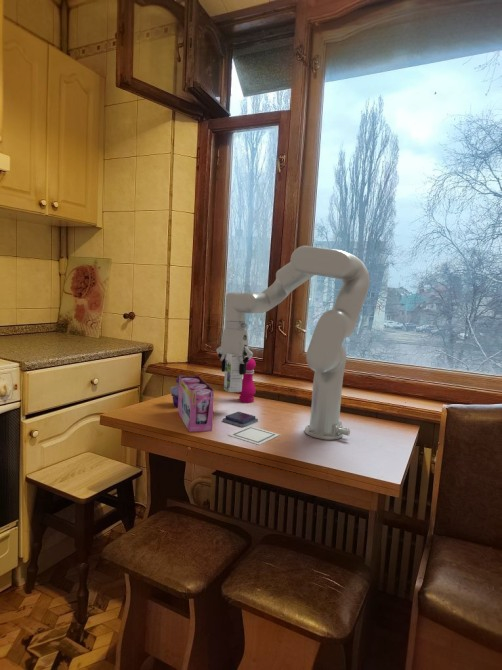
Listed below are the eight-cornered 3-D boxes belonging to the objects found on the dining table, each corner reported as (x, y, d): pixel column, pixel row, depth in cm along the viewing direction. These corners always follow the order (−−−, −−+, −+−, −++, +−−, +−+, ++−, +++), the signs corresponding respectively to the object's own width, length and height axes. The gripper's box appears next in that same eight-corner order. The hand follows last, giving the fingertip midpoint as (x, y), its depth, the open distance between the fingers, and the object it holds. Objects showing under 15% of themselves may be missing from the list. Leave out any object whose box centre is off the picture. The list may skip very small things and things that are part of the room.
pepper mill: (254, 403, 169) (257, 356, 166) (237, 402, 169) (240, 355, 167) (255, 399, 176) (257, 353, 174) (238, 398, 176) (241, 352, 174)
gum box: (213, 432, 132) (216, 391, 130) (189, 434, 129) (191, 392, 128) (197, 410, 154) (199, 375, 153) (176, 411, 151) (178, 376, 150)
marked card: (279, 435, 133) (279, 434, 133) (259, 445, 123) (259, 444, 123) (249, 426, 140) (249, 425, 140) (228, 435, 130) (228, 434, 130)
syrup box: (223, 389, 155) (224, 351, 154) (238, 388, 157) (239, 351, 156) (227, 392, 150) (228, 353, 148) (242, 392, 151) (243, 353, 150)
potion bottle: (175, 401, 165) (177, 372, 164) (195, 404, 162) (196, 374, 161) (165, 406, 157) (166, 376, 156) (185, 409, 154) (186, 378, 153)
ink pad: (257, 421, 146) (258, 416, 145) (243, 427, 138) (243, 421, 138) (237, 416, 151) (238, 410, 150) (222, 421, 143) (222, 415, 143)
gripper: (260, 327, 149) (258, 374, 151) (223, 324, 159) (221, 368, 161) (248, 328, 143) (246, 377, 145) (210, 324, 153) (209, 371, 155)
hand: (233, 372), depth 153 cm, fingers closed on syrup box, 7 cm apart
